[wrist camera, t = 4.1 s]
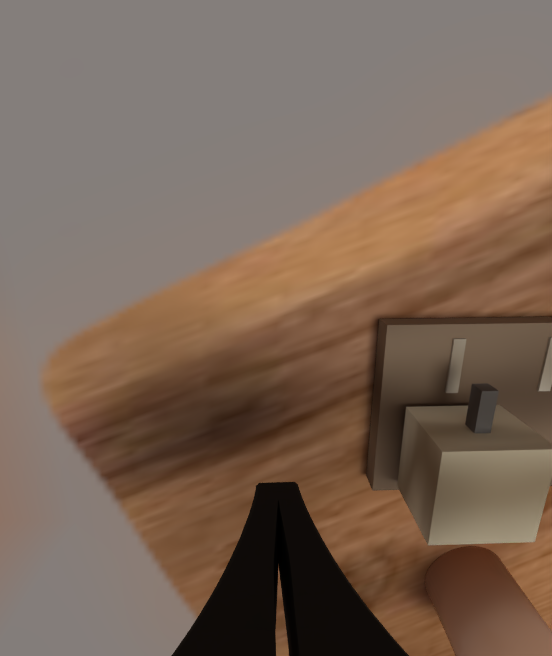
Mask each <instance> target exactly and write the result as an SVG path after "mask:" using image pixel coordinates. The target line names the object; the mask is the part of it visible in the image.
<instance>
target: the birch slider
mask: <svg viewBox="0 0 552 656" xmlns="http://www.w3.org/2000/svg"><path fill="white" fill-rule="evenodd" d="M498 393H499V391H498V390H497V389H496V388H494V387H493V386H491V385H490V384H488V383H482V384H472V386H471V392H470V398H469V404H468V406H422V407H406V413H405V422H404V430H403V439H402V448H401V457H400V465H399V474H398V483H397V486H398V488H399V490H400V492H401V494H402V496H403V498H404V500H405V502H406V504H407V506H408V508H409V509H410V511H411V513H412V515H413V517H414V519H415V521H416V523H417V525H418V527H419V529H420V531H421V533H422V535H423V536H424V538H425V540H426V542H427V544H428V545H454V544H486V543H518V542H535V539H536V535H537V531H538V527H539V524H540V520H541V516H542V512H543V508H544V505H545V501H546V497H547V493H548V490H549V486H550V482H551V478H552V443H550V442H549V441H548V440H546V439H545V438H543V437H542V436H541V435H539V434H538V433H537V432H535V431H534V430H533V429H531V428H530V427H529V426H527V425H526V424H525V423H523V422H522V421H521V420H519V419H518V418H516V417H515V416H514V415H512V414H511V413H510V412H508V411H507V410H506V409H504V408H503V407H502V406H500V405H496V403H497V398H498Z"/></svg>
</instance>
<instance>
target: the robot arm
mask: <svg viewBox="0 0 552 656" xmlns="http://www.w3.org/2000/svg"><path fill="white" fill-rule="evenodd" d="M278 563H279V571H280V580H281V588H282V597H283V605H284V613H285V621H286V630H287V638H288V647H289V656H409V655H408V654H407V653H406V652H405V651H404V650H403V649H402V648H401V647H400V645H399V644H398V643H397V642H396V641H395V640H394V639H393V637H392V636H391V635H390V634H389V633H388V631H387V630H386V629H385V628H384V627H383V625H382V624H381V623H380V622H379V620H378V619H377V618H376V617H375V616H374V614H373V613H372V612H371V611H370V610H369V608H368V607H367V606H366V604H365V603H364V602H363V600H362V599H361V598H360V596H359V595H358V594H357V592H356V591H355V590H354V588H353V587H352V585H351V584H350V583H349V581H348V580H347V578H346V577H345V575H344V574H343V572H342V571H341V569H340V568H339V566H338V565H337V563H336V562H335V560H334V558H333V557H332V555H331V553H330V552H329V550H328V548H327V547H326V545H325V543H324V541H323V540H322V538H321V536H320V534H319V532H318V530H317V528H316V527H315V525H314V523H313V521H312V519H311V517H310V515H309V512H308V510H307V508H306V506H305V503H304V501H303V499H302V496H301V493H300V490H299V487H298V484H296V483H295V482H276V483H259V484H258V485H257V486H256V491H255V496H254V500H253V503H252V507H251V510H250V513H249V516H248V518H247V521H246V524H245V526H244V529H243V531H242V534H241V537H240V539H239V541H238V543H237V546H236V548H235V550H234V552H233V554H232V556H231V559H230V561H229V563H228V565H227V567H226V569H225V571H224V573H223V575H222V577H221V578H220V580H219V582H218V584H217V586H216V588H215V589H214V591H213V593H212V595H211V596H210V598H209V600H208V601H207V603H206V605H205V606H204V608H203V610H202V611H201V613H200V615H199V616H198V618H197V619H196V621H195V623H194V624H193V626H192V627H191V629H190V630H189V632H188V633H187V635H186V636H185V638H184V639H183V640H182V642H181V643H180V645H179V646H178V648H177V649H176V650H175V652H174V653H173V655H172V656H276V640H275V629H276V607H277V585H278Z"/></svg>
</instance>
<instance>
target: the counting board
mask: <svg viewBox="0 0 552 656" xmlns="http://www.w3.org/2000/svg"><path fill="white" fill-rule="evenodd" d="M482 383H488V384H490V385H491V386H493V387H494V388H496V389H497V390H498V391H499V393H498V398H497V403H496V405H500V406H502V407H503V408H504V409H506V410H507V411H508V412H510V413H511V414H512V415H514V416H515V417H516V418H518V419H519V420H521V421H522V422H523V423H525V424H526V425H527V426H529V427H530V428H531V429H533V430H534V431H535V432H537V433H538V434H539V435H541V436H542V437H543V438H545V439H546V440H548V441H549V442H550V443H552V317H486V318H410V319H379V327H378V339H377V351H376V364H375V376H374V388H373V400H372V412H371V424H370V437H369V449H368V461H367V473H366V476H367V478H368V481H369V483H370V486H371V488H372V490H399V488H398V486H397V483H398V474H399V465H400V457H401V448H402V439H403V430H404V422H405V413H406V407H422V406H468V404H469V398H470V392H471V386H472V384H482ZM550 486H552V478H551V482H550Z"/></svg>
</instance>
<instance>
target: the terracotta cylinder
mask: <svg viewBox="0 0 552 656" xmlns="http://www.w3.org/2000/svg"><path fill="white" fill-rule="evenodd" d="M425 587H426V590H427V592H428V594H429V597H430V599H431V601H432V603H433V606H434V608H435V610H436V612H437V615H438V617H439V619H440V621H441V623H442V626H443V628H444V630H445V632H446V635H447V637H448V639H449V641H450V644H451V646H452V648H453V650H454V652H455V655H456V656H552V631H551V630H550V628H549V627H548V626H547V624H546V623H545V621H544V620H543V619H542V617H541V616H540V614H539V613H538V612H537V610H536V609H535V607H534V606H533V605H532V603H531V602H530V600H529V599H528V598H527V596H526V595H525V593H524V592H523V591H522V589H521V588H520V586H519V585H518V584H517V582H516V581H515V579H514V578H513V577H512V575H511V574H510V572H509V571H508V570H507V568H506V567H505V565H504V564H503V563H502V561H501V560H500V558H499V557H498V556H497V555H496V554H495V553H493V552H492V551H490V550H488V549H485V548H482V547H476V546H468V547H461V548H457V549H453V550H451V551H449V552H447V553H445V554H443V555H442V556H440V557H439V558H437V559H436V560H435V561H434V562H433V563H432V565H431V566H430V567H429V569H428V571H427V573H426V576H425Z"/></svg>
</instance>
